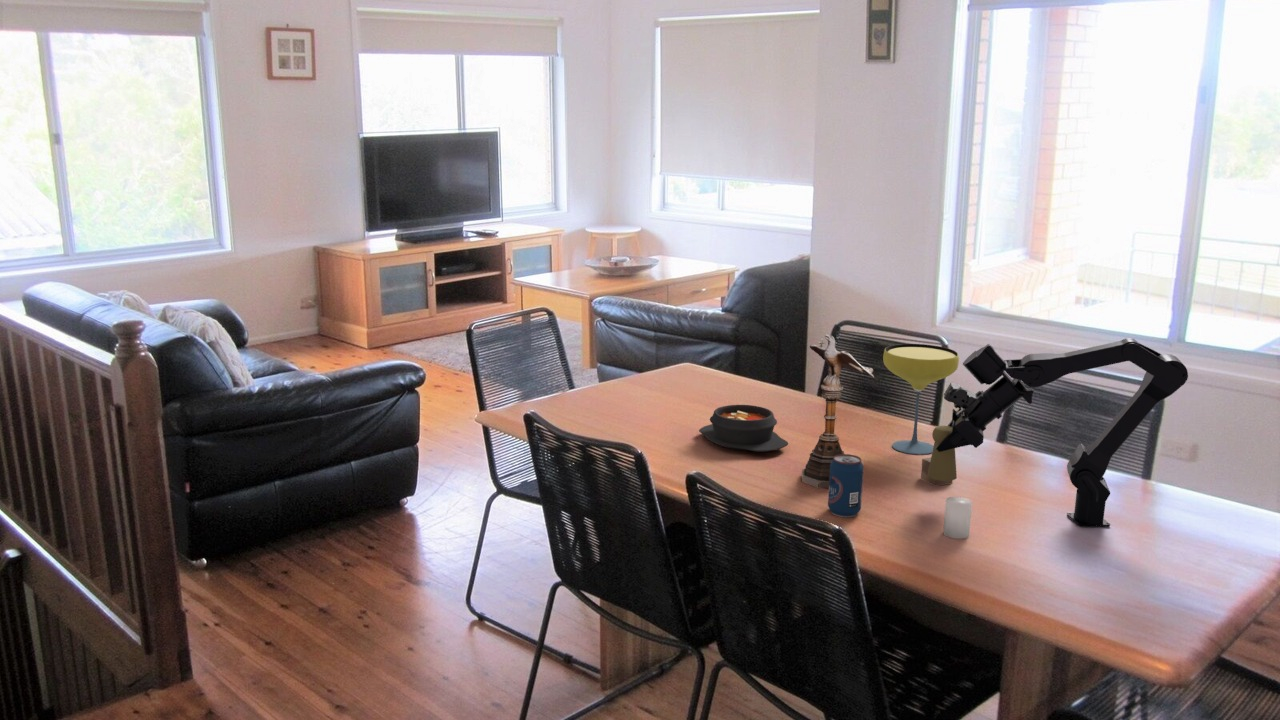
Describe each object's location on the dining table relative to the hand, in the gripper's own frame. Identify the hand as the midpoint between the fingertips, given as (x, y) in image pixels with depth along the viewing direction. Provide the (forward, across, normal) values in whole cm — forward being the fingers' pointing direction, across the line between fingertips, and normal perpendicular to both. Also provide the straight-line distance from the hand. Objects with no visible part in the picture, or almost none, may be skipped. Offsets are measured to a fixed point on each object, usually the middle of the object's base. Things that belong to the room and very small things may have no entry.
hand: (937, 446), depth 225 cm
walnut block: (+9, -16, +10) cm, 21 cm away
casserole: (+42, -30, -24) cm, 57 cm away
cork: (+4, 0, +6) cm, 7 cm away
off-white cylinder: (+6, +15, +13) cm, 21 cm away
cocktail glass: (+13, -40, +6) cm, 42 cm away
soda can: (+22, +10, -4) cm, 25 cm away
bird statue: (+26, -12, -7) cm, 29 cm away
